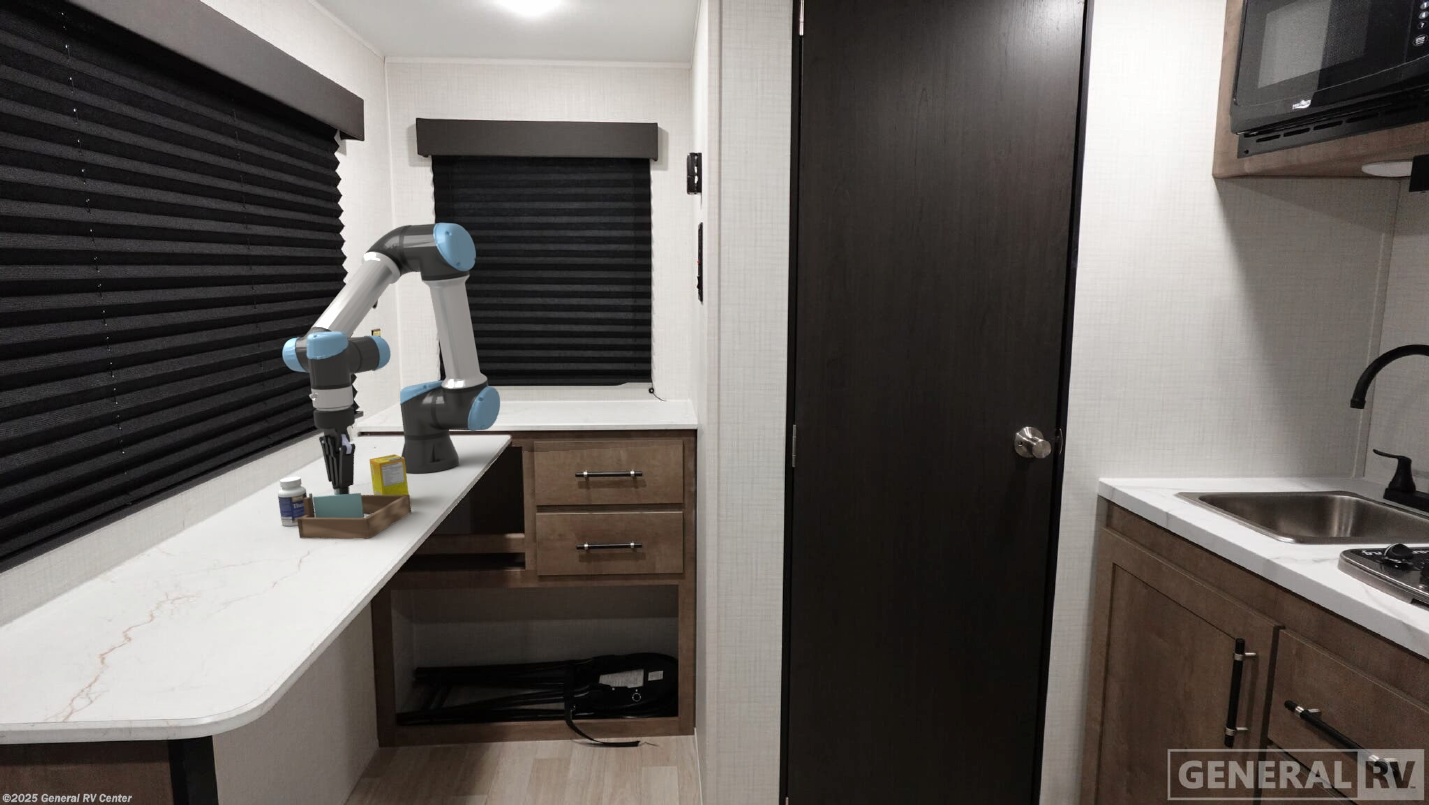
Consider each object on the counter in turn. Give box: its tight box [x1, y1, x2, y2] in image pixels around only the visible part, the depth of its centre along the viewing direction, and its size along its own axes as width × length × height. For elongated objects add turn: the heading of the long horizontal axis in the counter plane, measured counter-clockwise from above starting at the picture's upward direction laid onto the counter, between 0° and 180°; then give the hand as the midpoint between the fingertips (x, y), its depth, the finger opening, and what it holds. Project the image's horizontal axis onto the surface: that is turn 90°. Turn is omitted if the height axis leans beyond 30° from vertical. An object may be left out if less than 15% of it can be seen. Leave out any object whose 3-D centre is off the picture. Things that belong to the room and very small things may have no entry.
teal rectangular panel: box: [312, 492, 365, 518], centre depth 162 cm, size 9×1×7 cm, turn 99°
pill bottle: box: [277, 476, 308, 527], centre depth 168 cm, size 5×5×10 cm
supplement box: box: [369, 454, 410, 495], centre depth 179 cm, size 6×6×11 cm
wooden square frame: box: [297, 492, 412, 540], centre depth 165 cm, size 17×15×8 cm
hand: (344, 516), depth 165 cm, fingers closed
